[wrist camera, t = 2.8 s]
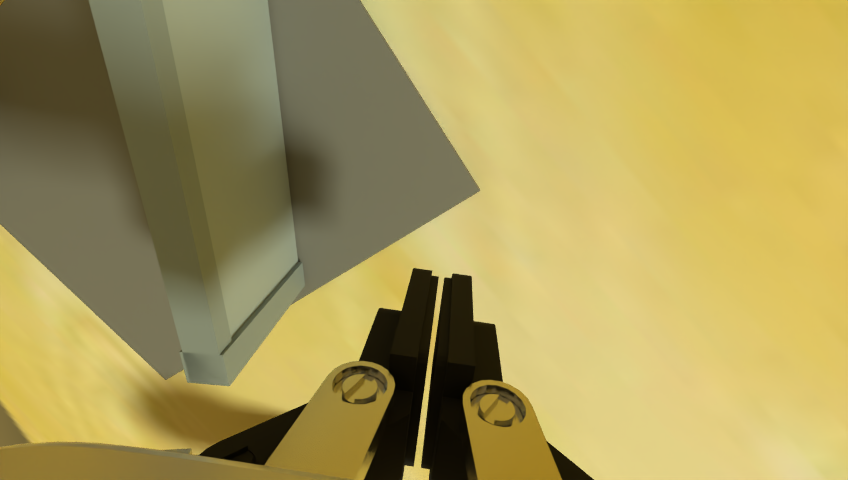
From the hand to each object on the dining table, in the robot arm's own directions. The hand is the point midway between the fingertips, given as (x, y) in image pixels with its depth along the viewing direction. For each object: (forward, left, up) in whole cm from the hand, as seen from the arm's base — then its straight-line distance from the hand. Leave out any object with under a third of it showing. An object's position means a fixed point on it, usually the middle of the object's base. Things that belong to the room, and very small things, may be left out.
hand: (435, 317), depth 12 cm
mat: (+8, -9, -7) cm, 14 cm away
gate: (+3, -8, -6) cm, 10 cm away
